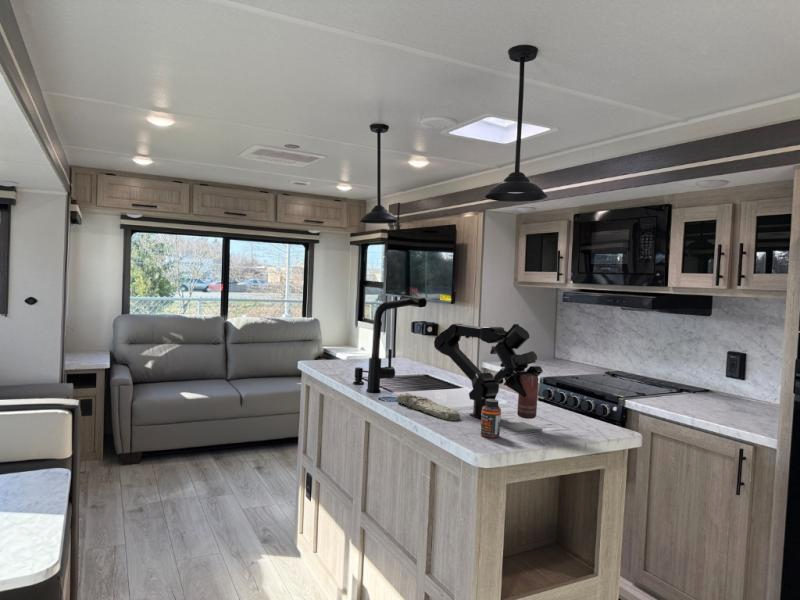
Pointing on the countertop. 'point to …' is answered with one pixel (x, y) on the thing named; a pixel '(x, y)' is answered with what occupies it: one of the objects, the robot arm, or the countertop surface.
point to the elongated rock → (428, 406)
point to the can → (528, 396)
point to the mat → (520, 426)
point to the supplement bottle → (490, 419)
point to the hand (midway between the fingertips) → (531, 395)
